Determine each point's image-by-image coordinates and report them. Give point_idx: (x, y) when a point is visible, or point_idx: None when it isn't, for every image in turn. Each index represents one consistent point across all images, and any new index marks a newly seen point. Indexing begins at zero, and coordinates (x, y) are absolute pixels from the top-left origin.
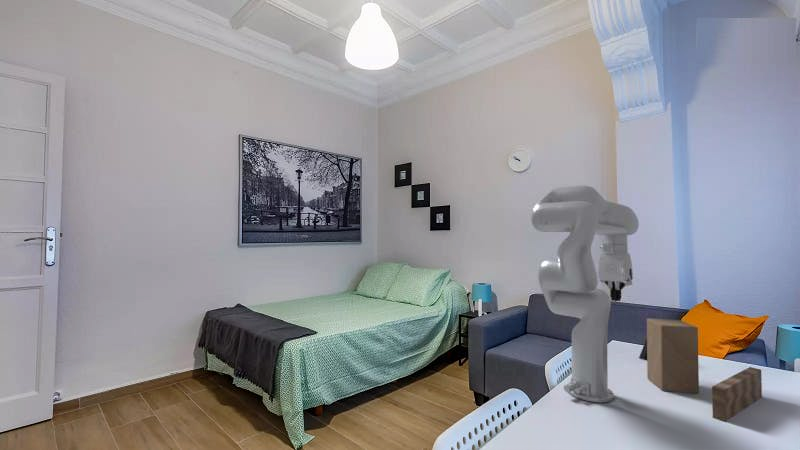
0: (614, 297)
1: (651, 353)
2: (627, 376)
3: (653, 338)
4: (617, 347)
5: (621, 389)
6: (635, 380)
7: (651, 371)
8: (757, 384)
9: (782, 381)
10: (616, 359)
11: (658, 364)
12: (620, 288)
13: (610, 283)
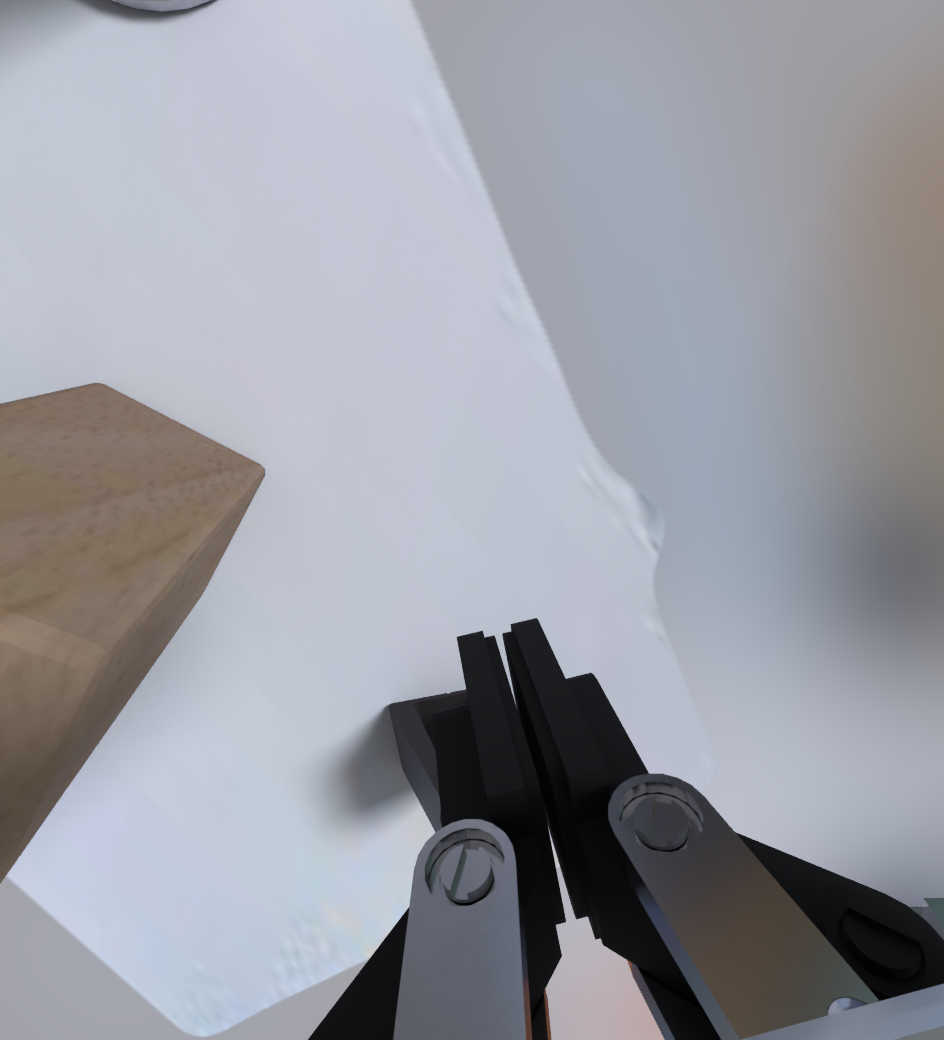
0: (483, 661)
1: (143, 481)
2: (322, 392)
3: (33, 507)
4: (664, 716)
5: (158, 156)
6: (262, 380)
7: (194, 452)
8: None
9: (124, 945)
10: (540, 564)
11: (60, 420)
12: (407, 919)
13: (716, 945)
